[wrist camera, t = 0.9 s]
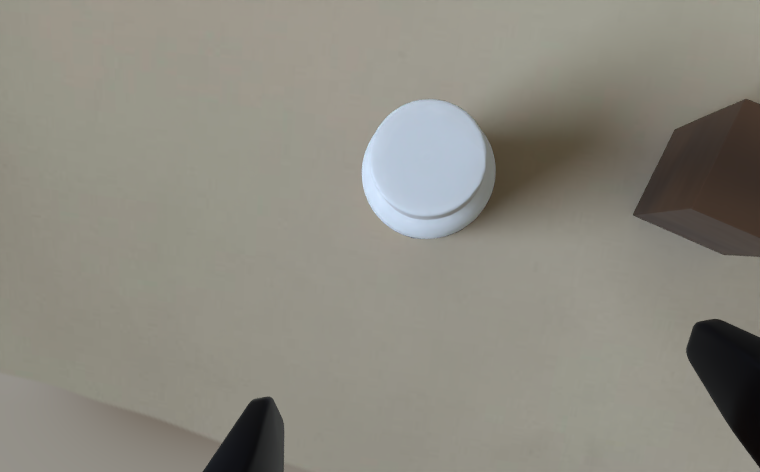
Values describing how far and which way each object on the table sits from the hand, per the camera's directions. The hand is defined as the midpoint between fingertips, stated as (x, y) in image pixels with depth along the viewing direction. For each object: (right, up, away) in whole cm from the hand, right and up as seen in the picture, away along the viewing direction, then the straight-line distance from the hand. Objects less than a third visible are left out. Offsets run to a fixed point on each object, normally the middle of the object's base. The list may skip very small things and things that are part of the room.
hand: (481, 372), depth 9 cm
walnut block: (+15, +5, +13) cm, 20 cm away
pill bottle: (+1, +5, +15) cm, 16 cm away
